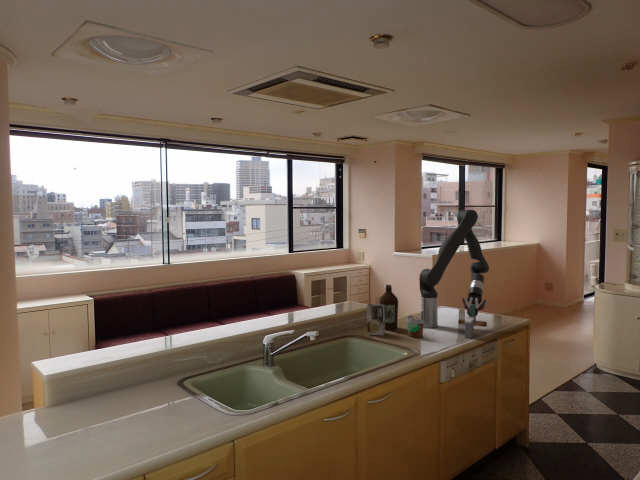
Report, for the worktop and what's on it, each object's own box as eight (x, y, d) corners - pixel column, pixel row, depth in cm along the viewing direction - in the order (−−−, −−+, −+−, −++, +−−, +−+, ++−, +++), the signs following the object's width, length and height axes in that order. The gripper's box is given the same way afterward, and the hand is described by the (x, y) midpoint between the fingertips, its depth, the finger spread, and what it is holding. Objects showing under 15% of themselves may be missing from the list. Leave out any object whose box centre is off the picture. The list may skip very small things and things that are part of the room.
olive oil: (380, 325, 282) (380, 283, 281) (398, 326, 280) (398, 283, 279) (378, 330, 272) (378, 286, 270) (398, 331, 270) (397, 286, 268)
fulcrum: (464, 337, 254) (464, 320, 253) (468, 333, 263) (468, 316, 262) (470, 338, 252) (470, 321, 252) (473, 333, 261) (473, 317, 261)
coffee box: (385, 332, 267) (385, 303, 266) (383, 335, 261) (383, 306, 260) (368, 331, 269) (368, 303, 268) (366, 334, 263) (366, 305, 262)
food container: (401, 334, 263) (401, 316, 262) (411, 333, 265) (411, 315, 264) (413, 339, 251) (413, 321, 251) (424, 338, 254) (424, 319, 253)
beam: (458, 324, 272) (458, 304, 271) (459, 323, 275) (459, 303, 274) (486, 327, 265) (486, 306, 265) (486, 325, 268) (487, 305, 267)
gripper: (462, 285, 279) (458, 310, 268) (488, 286, 272) (484, 312, 262) (464, 292, 284) (459, 317, 273) (489, 294, 277) (485, 320, 267)
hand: (472, 315), depth 268 cm, fingers closed on beam, 3 cm apart
